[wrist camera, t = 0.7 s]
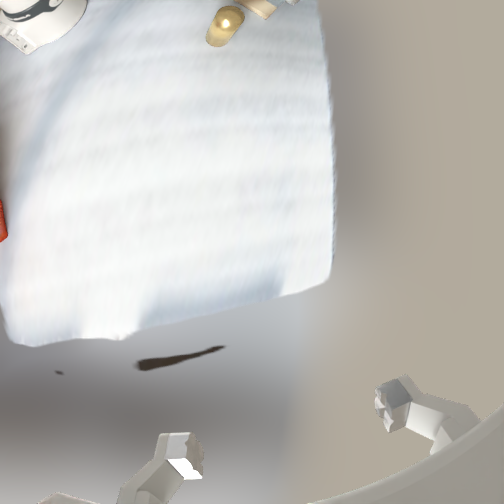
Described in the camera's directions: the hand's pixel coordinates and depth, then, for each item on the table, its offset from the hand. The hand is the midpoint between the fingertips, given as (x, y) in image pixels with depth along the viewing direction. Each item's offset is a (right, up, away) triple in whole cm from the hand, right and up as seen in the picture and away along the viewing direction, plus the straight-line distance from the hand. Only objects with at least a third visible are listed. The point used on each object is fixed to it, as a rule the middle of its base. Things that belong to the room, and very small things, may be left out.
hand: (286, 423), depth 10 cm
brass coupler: (-8, +47, +29) cm, 55 cm away
